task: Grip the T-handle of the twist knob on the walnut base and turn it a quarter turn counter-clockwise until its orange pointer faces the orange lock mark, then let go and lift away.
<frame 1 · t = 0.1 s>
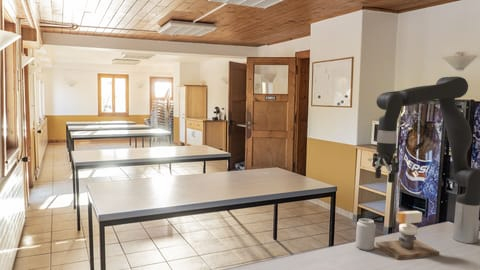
hand: (384, 180, 157), 29 cm above the table, tool pointing down, fingers open, 8 cm apart
can: (364, 248, 159), on the table
twist knob: (408, 222, 157), point 12 cm above the table, hinge at 0.0°
lock base: (406, 250, 158), on the table
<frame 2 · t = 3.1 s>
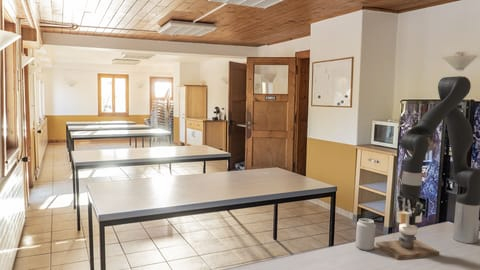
hand: (408, 223, 157), 12 cm above the table, tool pointing down, fingers closed on twist knob, 3 cm apart
twist knob: (408, 222, 157), point 12 cm above the table, hinge at 0.0°, touching gripper
everything else where it was.
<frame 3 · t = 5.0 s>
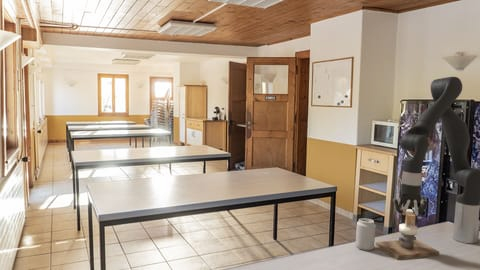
hand: (408, 223, 157), 12 cm above the table, tool pointing down, fingers closed on twist knob, 3 cm apart
twist knob: (408, 222, 157), point 12 cm above the table, hinge at 58.2°, touching gripper
everything else where it was.
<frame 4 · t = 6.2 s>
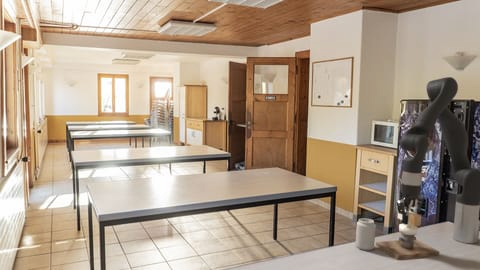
hand: (408, 223, 157), 12 cm above the table, tool pointing down, fingers closed on twist knob, 3 cm apart
twist knob: (408, 222, 157), point 12 cm above the table, hinge at 89.4°, touching gripper
everything else where it was.
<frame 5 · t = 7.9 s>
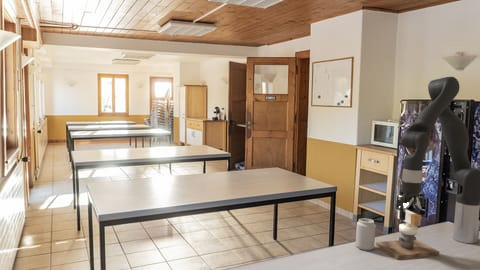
hand: (409, 218, 156), 14 cm above the table, tool pointing down, fingers open, 8 cm apart
twist knob: (408, 222, 157), point 12 cm above the table, hinge at 89.9°
everything else where it was.
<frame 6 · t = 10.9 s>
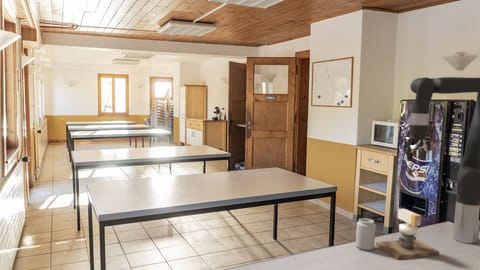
hand: (416, 160, 166), 36 cm above the table, tool pointing down, fingers open, 8 cm apart
nothing on the table moved.
at the end: twist knob at +90° (first picture: +0°); the gripper is holding nothing; can moved 0.2 cm from its start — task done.
